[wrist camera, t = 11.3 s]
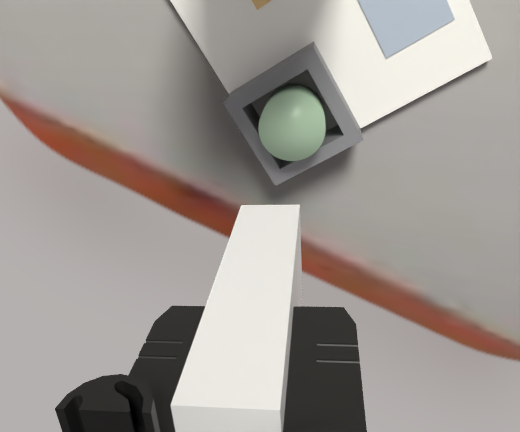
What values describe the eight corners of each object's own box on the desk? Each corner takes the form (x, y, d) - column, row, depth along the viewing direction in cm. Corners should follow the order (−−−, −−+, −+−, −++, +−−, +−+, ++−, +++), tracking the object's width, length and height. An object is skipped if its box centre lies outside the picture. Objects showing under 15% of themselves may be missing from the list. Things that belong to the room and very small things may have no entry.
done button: (252, 103, 29) (245, 117, 26) (306, 71, 28) (304, 82, 25) (283, 154, 30) (280, 172, 27) (335, 125, 29) (337, 141, 26)
